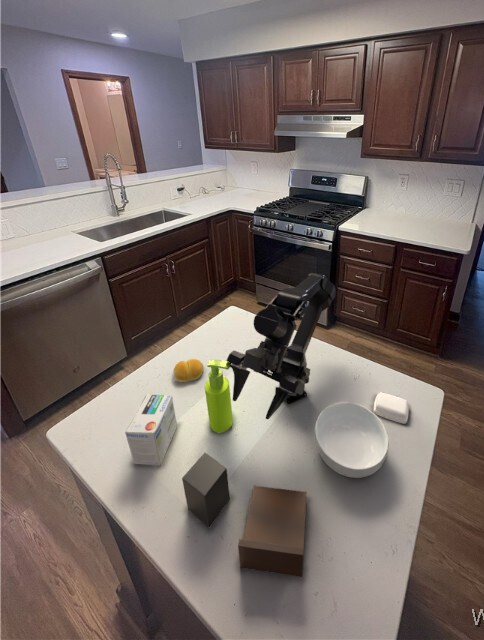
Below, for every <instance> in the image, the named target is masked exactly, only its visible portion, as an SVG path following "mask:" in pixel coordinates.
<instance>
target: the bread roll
mask: <svg viewBox="0 0 484 640" xmlns="http://www.w3.org/2000/svg"><path fill="white" fill-rule="evenodd" d="M204 370H205V369H204V364H203V362H202V361H201V360H199V359H196V358H190V359H188V360H187V361H186V360H182V361H178V362H177V363H175V365H174V368H173V380H174V381H176V382H179V383H186V382H191V381H195V380H198V379H199V378H200V377H201V376H202V374H203V373H204Z"/></svg>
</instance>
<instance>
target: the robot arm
mask: <svg viewBox="0 0 484 640" xmlns="http://www.w3.org/2000/svg"><path fill="white" fill-rule="evenodd" d="M336 296H337V289H336V286H335V284H334V283H332V282H331V281H330V280H329V279H328V278H327V276H326V275H324V274H321V273H316V272H309V273H308V276H307V277H306V278H305V279H303V280H302V281H300V283H298V284H297V285H296V286H295V287H289V288H284V289H281V290H280V291H278V292H277V294H276V295H274V297H273V298H272V300H271V301H269V303H268V304H267V306H266V307H265V308H263V309H261V310H259V311H258V312H257V313H256V314H255V316H254V318H253V328H254V330H255V332H256V333H258V334H259V335H261V336H263V337H265V339H264V340H261V341H260V343H259V344H258V346H257V347H253V348H249V349H246V350H245V353H243V352H240V351H237V350H233V351H231V352H230V353H228V355H227V358H226V360H225V361H226V362H230V363H232V364H230V368H231V370H232V372H233V391H232V401H233V402H237V400H238V398H239V397H240V395H241V393H242V391H243V389H244V386H245V385H246V382H247V380H248V378H249V376H250V374H251V371H250V370H252V371H253V372H255V373H258V374H260V375H262V376H264V377H266V378H269V379H271V380H273V381H275V382H277V383H278V386H275V389H274V390H275V392H274V396H273V398H272V401H271V402H270V405H269V407H268V409H267V412H266V415H265V420H270V418H272V416H273V415H274V414H275V413H276V411H278V409H280V407H281V406H282V405H283V404H284V403H285V402H286V404H287V405H291V404H293V403H295V402H297V401H299V400H302V399H304V398H307V397H308V393H307V391H305V388H306V387H305V386H306V384H308V383H309V382H310V375H311V368H310V367H309V368H308V367H307V366H308V362H307V356H306V353H307V351H308V348H309V346H310V343H311V340H312V337H313V335H314V333H315V331H316V328H317V325H318V323H319V320H320V318H321V315H322V314H323V311H325V310H326V309H329V308H330V306H331V304H332V302H333V301H334V300H335V298H336ZM301 318H302V319H301ZM299 319H301V320H300V322H299V325H298V327H297V324H296V321H298V320H299ZM295 331H296V333H295ZM294 333H295V334H294ZM293 335H294V336H293ZM292 337H293V339H292ZM291 340H292V342H291ZM290 343H291V344H290ZM249 369H250V370H249Z"/></svg>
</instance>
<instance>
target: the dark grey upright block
mask: <svg viewBox="0 0 484 640" xmlns="http://www.w3.org/2000/svg"><path fill="white" fill-rule="evenodd" d="M181 481H182V486H183V491H184V497H185V501H186V506H187V511H189V512H190V513H191V514H192V515H193V516H195V517H196V518H198V519H199V520H200V522H201V523H203V524H204V525H205V526H207V527H208V528H211V527H212V526H213V524H214V522H215V521H216V519H217V518H218V517H219V515H220V514H221V512H222V511H223V509H224V508H225V506H226V505H227V504H228V502H229V501H230V499H231V495H230V486H229V485H230V484H229V476H228V468H227V467H226V465H223V463H221V462H219V461H218V460H216V459H215V458H214V457H212V456H211V455H209V454H208V453H206V452H203V454H202V455H201V456H200V457H199V458H198V459H197V460H196V461H195V463H194V464H193V465H192V466H191V467H190V468H189V470H188V471H186V473H185V474H184V475H183V476H182V478H181Z"/></svg>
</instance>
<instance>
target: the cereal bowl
mask: <svg viewBox="0 0 484 640" xmlns="http://www.w3.org/2000/svg"><path fill="white" fill-rule="evenodd" d="M314 441H315V444H316V448H317V451H318V453H319V455H320V457H321V459H322V460H323V462H324V463H325V464H326V465H327V466H328V467H329V468H330V469H332V470H333V471H334V472H336V473H337V474H339V475H341V476H344V477H347V478H351V479H352V478H354V479H361V478H366V477H369V476H371V475H373V474H375V473H376V472H377V471H379V470H380V468H381V467H382V466H383V464H384V463H385V461H386V458H387V455H388V452H389V446H390V445H389V443H390V442H389V441H390V440H389V435H388V432H387V429H386V427H385V425H384V423H383V422H382V420H381V419H380V418H379V416H378V415H377V414H375V413H374V411H372V410H370V409H369V408H367V407H366V406H364V405H361V404H359V403H355V402H351V401H339V402H335V403H332V404H330V405H328V406H326V407H325V408H323V409H322V411H321V412H320V413H319V414H318V416H317V418H316V421H315V425H314Z"/></svg>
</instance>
